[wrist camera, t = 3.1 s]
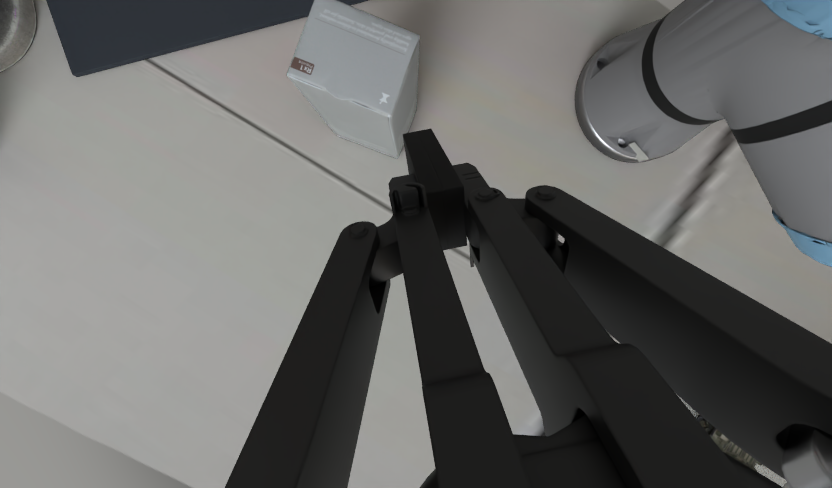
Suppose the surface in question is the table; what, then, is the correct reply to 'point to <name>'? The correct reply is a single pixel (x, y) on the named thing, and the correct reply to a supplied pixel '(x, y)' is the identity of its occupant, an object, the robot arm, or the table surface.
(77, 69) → the mat
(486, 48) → the table surface
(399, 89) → the cosmetic box
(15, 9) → the webcam
